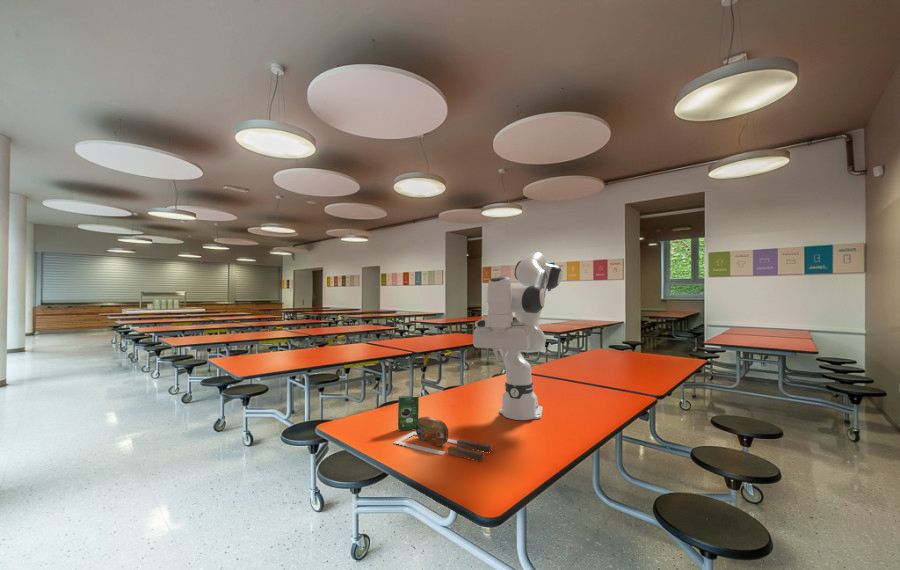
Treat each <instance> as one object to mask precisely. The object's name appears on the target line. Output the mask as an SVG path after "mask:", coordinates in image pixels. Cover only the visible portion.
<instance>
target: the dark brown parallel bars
mask: <svg viewBox="0 0 900 570" xmlns="http://www.w3.org/2000/svg"><path fill="white" fill-rule="evenodd" d="M456 441H457V444H456V446H454V445H450V446H448V447H447V455H451V456H455V457H459V458H463V457H464V458H463V459H467V458H469V460H472V459H474V460H473V461H476V460H478V461H477V462H480V461H481V462H482V461H483V460H484V457H485V456H484V452H488V453H487V454H490V453H491V452H492V444H488V443H487V444H486V443H482V442H478V441H472V440H469V439H463V438H459V439H457V440H456ZM465 448H468V449H465ZM470 449H474V450H470ZM475 450H479V451H484V452H479V451H475ZM490 451H491V452H490ZM489 452H490V453H489Z"/></svg>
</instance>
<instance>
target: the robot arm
mask: <svg viewBox="0 0 900 570" xmlns="http://www.w3.org/2000/svg"><path fill="white" fill-rule="evenodd" d="M513 272H514V274H513V275H514V279H516V280H517V281H518V282H519V283H520V284H521V286H520V285H518V286H513V285H512V283H511V278H510V277H508V276H496V277H492V278H490V279H489V280H488V284H487V290H486V291H487V292H486V295H487V296H486V302H487V305H488V310H487V317H485V318H482V319H479V320H476V321H474V327H475V329H473V334H472V345H473V346H474V348H478V349H479V348H480V349H481V348H482V349H492V352H493V354H494V356H495V361H496V362H497V363H498V362H499V363H504V368H505V382H504V383H505V384H504V391H505V392H504V393H503V394H502V398H501V400H502V402H501V408H500V409H499V410H498V413H499V414H502V415H503V417H505V418H507V419H510V420H516V421H529V420H535V419H536V420H538V419H542V416H543V409H544V408H543V406H542V405H539V404H538V396H537V394H535V392H534V381H532V366H531V364H530V363H529V361H528V360H526V359H525V358H524V357H523V355H522V353H537V352H541V351H542V350H543V349H544V348H545V345H546V340H547V339H546V338H547V337H546V335H545V332H544V331H543V330H542V329H541V328H540V326H539V321H540V320H539V319H540V316H541V313H542V309H543V308H544V306H545V301H546V300H545V299H546V292H547V291H548V292H551V291H552V290H553V289H555V288H557V287H558V286H559V285H560V283H561V282H562V280H563V273H562V272H563V271H562V268H561V267H560V266H559V265H556V264H551V263H547V258H546V256H545V255H544V254H543V253H541V252H539V251H537V252H536V251H535V252H530V253H529V254H527V255H526V256H525V257H524V258H523V259H521V260H519V261H518V262H517V263H516V265H515V267H514V271H513ZM513 313H514V317H515V319H516V320H517V321H518V322H513V321H514V320H513ZM521 352H522V353H521ZM499 353H500V354H501V355H500V354H499Z"/></svg>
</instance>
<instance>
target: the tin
mask: <svg viewBox="0 0 900 570" xmlns="http://www.w3.org/2000/svg"><path fill="white" fill-rule="evenodd" d="M415 432H416V433H417V438H418V439H419V440H420V441H421V440H422V442H423V443H427V444H429V445H432V446H434V447H441V446H443V445H445V444H447V443H448V442H447V440H448V439H449V428H448V426H447V424H446V423H445V422H444V421H442V420H439V419H436V418H433V417H429V416H422V417H418V420H417V422H416V430H415Z"/></svg>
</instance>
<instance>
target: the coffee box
mask: <svg viewBox="0 0 900 570" xmlns="http://www.w3.org/2000/svg"><path fill="white" fill-rule="evenodd" d="M419 398H420V397H419V395H417V394H416V395H401V396H400V395H399V396H398V402H397V403H398V405H397V406H398V410H397V430H398V429H399V430H406V431H412V429H416V422H417V420H418V419H419V410H420V409H419V402H420V401H419ZM399 430H398V431H399Z"/></svg>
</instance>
